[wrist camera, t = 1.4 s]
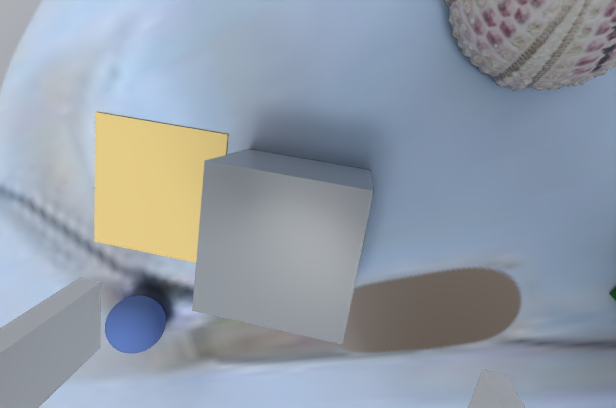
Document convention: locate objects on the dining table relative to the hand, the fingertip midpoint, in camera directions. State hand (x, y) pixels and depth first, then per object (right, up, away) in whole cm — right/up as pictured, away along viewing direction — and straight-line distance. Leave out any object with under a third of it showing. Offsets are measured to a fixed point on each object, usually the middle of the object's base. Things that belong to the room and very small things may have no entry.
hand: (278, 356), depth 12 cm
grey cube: (0, +4, +19) cm, 19 cm away
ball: (-15, -6, +21) cm, 26 cm away
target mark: (-12, +6, +20) cm, 24 cm away
